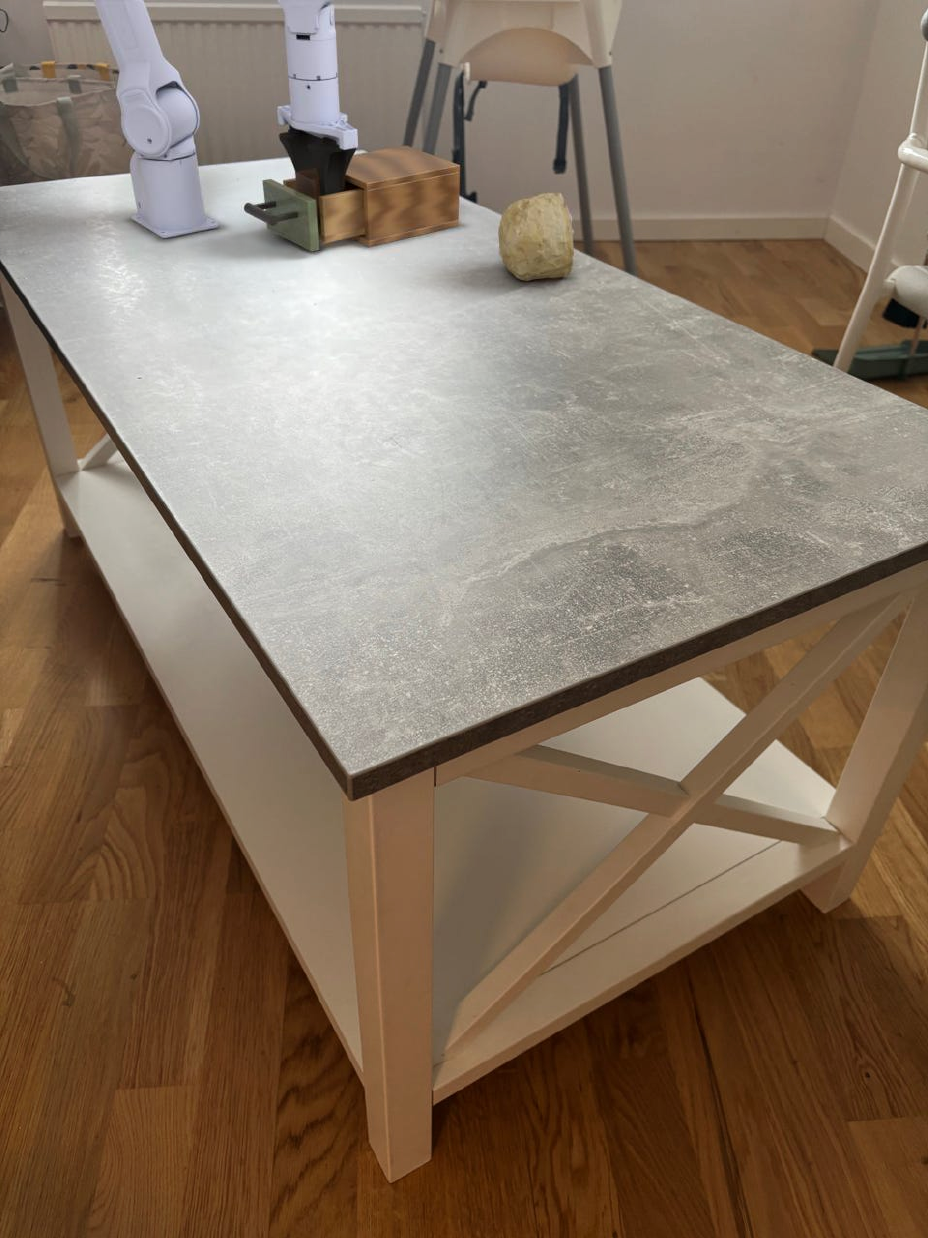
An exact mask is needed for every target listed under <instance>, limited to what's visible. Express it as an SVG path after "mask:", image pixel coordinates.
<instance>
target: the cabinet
mask: <svg viewBox="0 0 928 1238" xmlns="http://www.w3.org/2000/svg"><path fill="white" fill-rule="evenodd" d="M345 181H347V182H349V183H352V184H354V185H356V186H359V187H361V188H363V189H364V212H365V234H363V235H359V236H355V237H350V239H352V240H354V241H356V242H358V243H359V244H362V245H364V246H366V247H368V248H372V247H375V246H379V245H385V244H388V243H393V242H397V241H400V240H406V239H410V238H413V237H417V236H422V235H426V234H431V233H435V232H439V231H442V230H447V229H452V228H455V227H456V228H457V227H459V226H460V191H461V190H460V188H461V187H460V186H461V185H460V184H461V183H460V182H461V165H460V164H457V163H455V162H452V161H449V160H446V159H444V158H442V157H438V156H436V155H433V154H431V153H428V152H425V151H422V150H419V149H418V148H417V149H416V148H414V147H411V146H409V145H401V146H395V147H389V148H384V149H378V150H372V151H367V152H361V153H354V155H353V157H352V159H351V161H350V164H349V166H348V169H347V172H346V176H345Z"/></svg>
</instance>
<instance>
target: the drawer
mask: <svg viewBox="0 0 928 1238" xmlns="http://www.w3.org/2000/svg"><path fill="white" fill-rule="evenodd" d="M261 182H262V191H263V201H264V202H261V203H255V204H253V203H251V202H246V203H245V204H244V206H243V211H244V212H245V213H246V214H248V215H250V216H252V217H254V218H256V219H258V220H260V221H262V222H264V223H265V224H266V229H268V230H270V231H271V232H273V233H275V234H277V235H279V236H281V237H283V238H285V239H287V240H288V241H291V242H292V243H295V244H296V245H298V246H300V247H302V248H304V249H306V250H307V251H310V252H315V251H319V250H320V242H322V243H324V244H329V243H332V242H333V243H334V242H337V241H341V240H345V239H349V238H350V237H355V236H359V235H363V234H365V212H364V189H363V188H361V187H359V186H356V185H354V184H352V183H349V182H347V181H345V192H340V193H335V194H330V195H325V196H320V197H319V207H320V218H317V208H316V200H315V199H313V198H311V197H308V196H306V195H304V194H302V193H300V192H298V191H296V179H295V177H293V178H288V179H283V180H282V183H281V182H279V181H277V180H274V179H273V178H268V179H267V178H266V179H262V180H261ZM350 239H351V238H350Z"/></svg>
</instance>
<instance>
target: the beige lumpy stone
mask: <svg viewBox="0 0 928 1238" xmlns="http://www.w3.org/2000/svg"><path fill="white" fill-rule="evenodd" d="M572 224H573V218H572V215H571V212H570V210H569V207H568V205H567V203H565V198H564V197H563V195H562V193H561V192H544V193H540V194H538V195H536V196H535V195H533V196H530V197H528V198H523V199H519V200H515V201H514V202H513V203H511V204H510V205H508V206H507V208H506V209H505V210H504V211H503V214H502V215H501V218H500V221H499V226H498V231H497V235H498V236H497V237H498V254H499V255H500V256H501V261H502V263H503V265H504V266H505V267H506V269H507V270H508V272H510V273H511V274H512V275H513V276H514V277H515V278H517V279H519V280H521V281H524V282H529V281H532V280H533V281H534V280H538V279H548V278H550V279H557V278H568V277H569V275H570V273H571V272H572V270H573V266H574V255H575V249H574V247H575V246H574V233H575V229H573V225H572Z"/></svg>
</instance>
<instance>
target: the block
mask: <svg viewBox="0 0 928 1238" xmlns="http://www.w3.org/2000/svg"><path fill="white" fill-rule="evenodd" d="M294 176H295V177H294V178H295V179H296V191H298V192H300V193H302V194H304V195H306V196H308V197H311V198H313V199H315V200H316V208H317V218H320V207H319V197H320V196H321V192H320V185H319V178H318V173H317V169H316V168H315V169H309V170H304V171H298V172H295V171H294ZM342 192H345V180H344V185H343V190H342Z"/></svg>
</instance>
